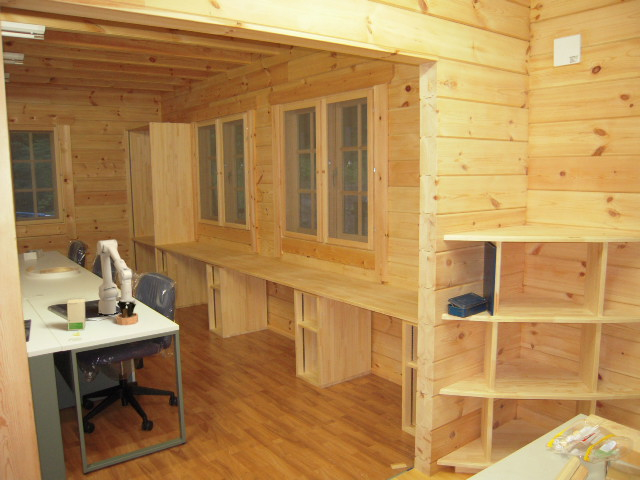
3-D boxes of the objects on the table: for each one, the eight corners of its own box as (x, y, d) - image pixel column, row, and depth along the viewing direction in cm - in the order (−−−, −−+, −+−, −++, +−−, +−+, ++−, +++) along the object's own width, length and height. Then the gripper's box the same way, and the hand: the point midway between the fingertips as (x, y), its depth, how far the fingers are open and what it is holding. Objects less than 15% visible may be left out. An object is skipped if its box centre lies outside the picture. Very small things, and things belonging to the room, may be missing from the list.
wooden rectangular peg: (123, 321, 302) (122, 309, 301) (128, 319, 305) (128, 307, 304) (126, 322, 301) (125, 309, 300) (131, 320, 304) (131, 308, 303)
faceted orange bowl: (112, 323, 301) (112, 316, 300) (127, 318, 311) (127, 311, 310) (127, 326, 296) (127, 319, 295) (142, 321, 306) (141, 314, 305)
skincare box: (67, 331, 287) (66, 302, 284) (69, 327, 293) (68, 299, 291) (84, 330, 289) (83, 301, 287) (86, 326, 295) (84, 298, 293)
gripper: (110, 291, 300) (112, 314, 302) (130, 294, 294) (131, 318, 296) (120, 288, 306) (121, 311, 309) (140, 291, 300) (141, 315, 302)
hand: (127, 314), depth 303 cm, fingers open, 5 cm apart
